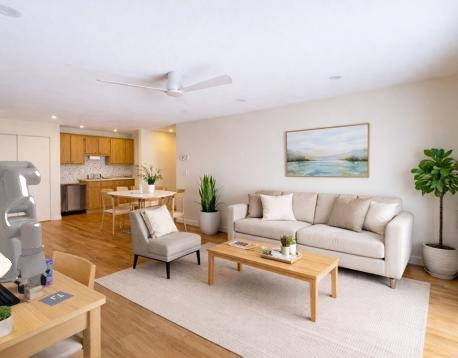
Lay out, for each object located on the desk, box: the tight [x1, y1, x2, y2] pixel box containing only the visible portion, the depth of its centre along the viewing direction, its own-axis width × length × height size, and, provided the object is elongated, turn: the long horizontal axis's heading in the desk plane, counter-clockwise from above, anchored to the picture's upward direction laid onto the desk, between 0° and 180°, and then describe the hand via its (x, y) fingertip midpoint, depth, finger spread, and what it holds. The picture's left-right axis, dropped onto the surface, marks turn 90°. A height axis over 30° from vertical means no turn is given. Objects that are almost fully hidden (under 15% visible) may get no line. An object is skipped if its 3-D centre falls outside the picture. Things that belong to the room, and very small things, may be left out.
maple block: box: [22, 284, 43, 300], centre depth 121 cm, size 5×5×4 cm
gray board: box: [37, 290, 75, 307], centre depth 121 cm, size 10×10×1 cm
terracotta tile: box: [19, 292, 47, 303], centre depth 121 cm, size 7×7×1 cm
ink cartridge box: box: [26, 258, 54, 289], centre depth 133 cm, size 10×6×14 cm, turn 78°
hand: (32, 289), depth 121 cm, fingers open, 8 cm apart
